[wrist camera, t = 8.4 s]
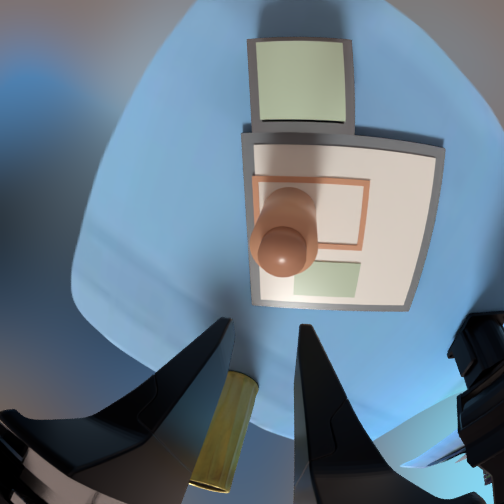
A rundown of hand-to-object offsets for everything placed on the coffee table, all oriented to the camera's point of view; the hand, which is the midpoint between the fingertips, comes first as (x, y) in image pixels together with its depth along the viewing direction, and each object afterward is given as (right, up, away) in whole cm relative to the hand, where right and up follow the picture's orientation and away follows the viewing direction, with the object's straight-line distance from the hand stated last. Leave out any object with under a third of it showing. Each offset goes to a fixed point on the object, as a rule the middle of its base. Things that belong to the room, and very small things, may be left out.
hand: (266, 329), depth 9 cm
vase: (-3, -14, +22) cm, 26 cm away
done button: (+2, +12, +4) cm, 13 cm away
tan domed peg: (+2, +5, +9) cm, 11 cm away
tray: (+6, +4, +10) cm, 12 cm away
